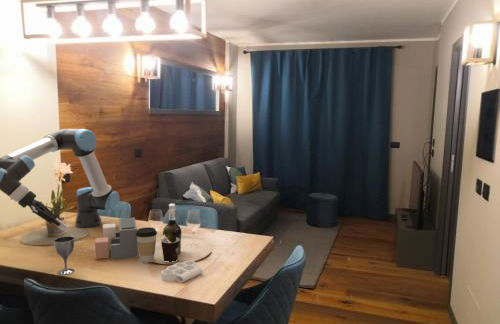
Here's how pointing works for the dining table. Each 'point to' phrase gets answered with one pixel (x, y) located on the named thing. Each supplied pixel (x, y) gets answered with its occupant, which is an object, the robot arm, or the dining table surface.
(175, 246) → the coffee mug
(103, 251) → the terracotta key
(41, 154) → the robot arm
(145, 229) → the coffee cup
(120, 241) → the console
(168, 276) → the grey muffin tray
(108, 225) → the cream key
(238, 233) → the dining table surface
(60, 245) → the wine glass
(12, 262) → the dining table surface
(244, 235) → the dining table surface
